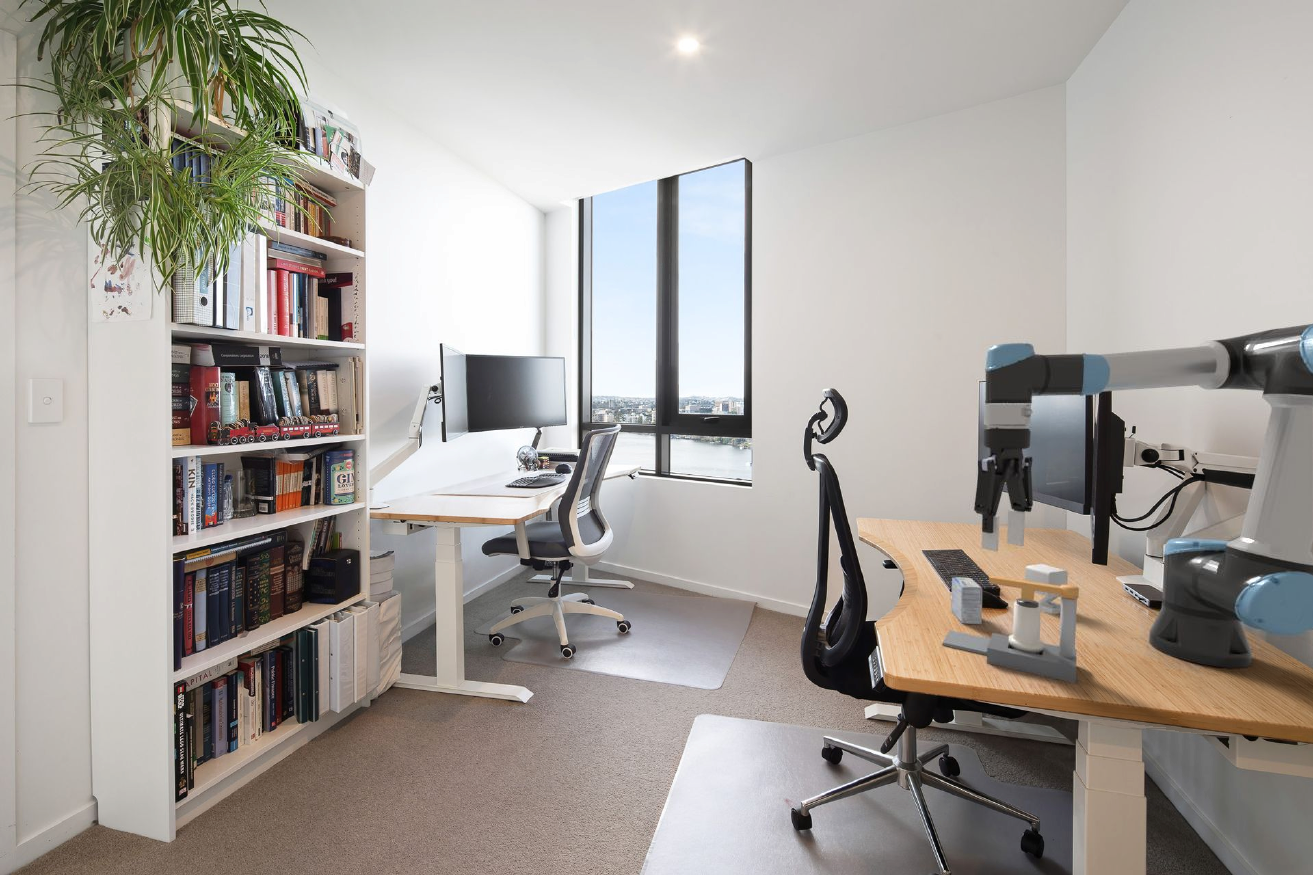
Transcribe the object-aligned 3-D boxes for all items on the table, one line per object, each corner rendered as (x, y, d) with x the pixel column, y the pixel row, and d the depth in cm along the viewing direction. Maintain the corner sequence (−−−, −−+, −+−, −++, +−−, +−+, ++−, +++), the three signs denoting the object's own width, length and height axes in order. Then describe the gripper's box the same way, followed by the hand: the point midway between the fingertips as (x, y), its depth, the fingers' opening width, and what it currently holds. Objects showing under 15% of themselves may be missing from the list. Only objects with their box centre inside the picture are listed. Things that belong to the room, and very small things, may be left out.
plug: (1043, 660, 113) (1046, 600, 113) (1042, 671, 109) (1044, 608, 108) (1009, 652, 117) (1011, 594, 116) (1006, 663, 112) (1008, 602, 111)
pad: (991, 641, 122) (991, 638, 122) (986, 654, 116) (986, 652, 116) (949, 632, 127) (949, 630, 127) (942, 645, 120) (942, 642, 120)
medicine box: (982, 625, 131) (983, 587, 131) (960, 623, 132) (961, 586, 132) (970, 612, 139) (971, 577, 139) (950, 611, 140) (951, 576, 140)
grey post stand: (1075, 665, 111) (1078, 593, 110) (1075, 683, 104) (1078, 607, 103) (992, 647, 120) (994, 580, 119) (986, 662, 112) (989, 592, 111)
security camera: (1042, 602, 147) (1043, 563, 146) (1069, 611, 140) (1071, 571, 139) (1023, 605, 145) (1025, 565, 144) (1050, 614, 138) (1052, 573, 137)
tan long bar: (1078, 604, 109) (1078, 586, 108) (1077, 608, 106) (1078, 590, 106) (990, 590, 117) (990, 573, 117) (988, 593, 115) (988, 576, 115)
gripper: (994, 428, 100) (990, 558, 102) (1058, 426, 110) (1053, 544, 111) (954, 427, 107) (950, 549, 108) (1017, 425, 117) (1013, 536, 118)
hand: (1002, 546), depth 110 cm, fingers open, 8 cm apart
